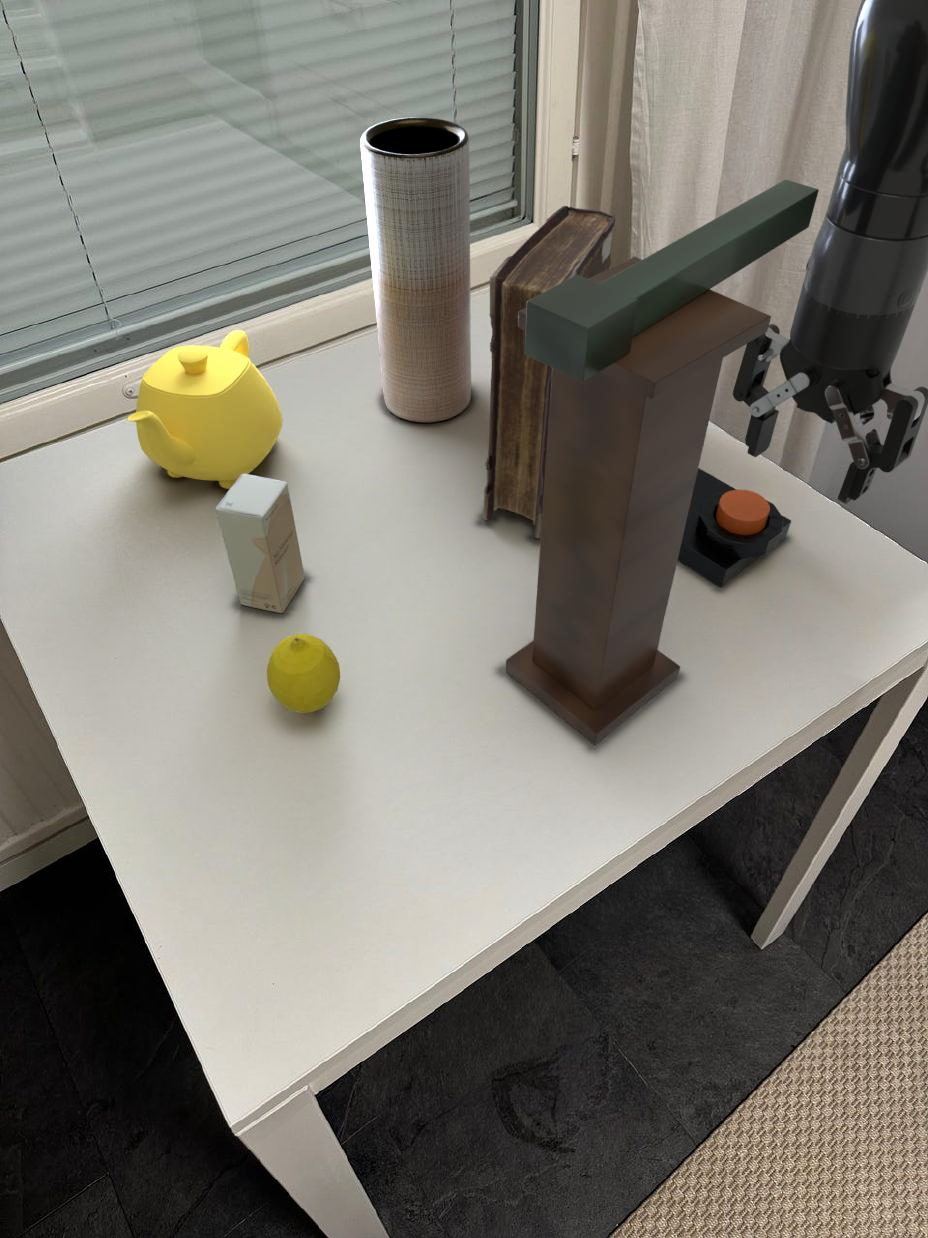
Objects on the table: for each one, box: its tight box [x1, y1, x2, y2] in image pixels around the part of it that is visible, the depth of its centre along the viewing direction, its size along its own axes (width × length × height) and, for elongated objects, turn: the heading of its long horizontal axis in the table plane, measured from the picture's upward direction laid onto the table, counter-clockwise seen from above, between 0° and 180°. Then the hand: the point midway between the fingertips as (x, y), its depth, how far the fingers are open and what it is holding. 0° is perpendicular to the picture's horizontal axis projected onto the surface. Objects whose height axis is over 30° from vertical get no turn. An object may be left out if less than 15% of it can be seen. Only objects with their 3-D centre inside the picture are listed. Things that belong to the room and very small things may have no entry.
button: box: [716, 489, 770, 535], centre depth 80 cm, size 4×4×2 cm
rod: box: [525, 179, 820, 382], centre depth 51 cm, size 4×24×3 cm, turn 136°
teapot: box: [127, 329, 284, 490], centre depth 89 cm, size 13×20×12 cm
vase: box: [360, 116, 472, 424], centre depth 91 cm, size 10×10×28 cm
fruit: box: [266, 633, 341, 714], centre depth 69 cm, size 6×6×8 cm
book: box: [482, 205, 616, 539], centre depth 81 cm, size 17×7×25 cm, turn 150°
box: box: [215, 473, 306, 614], centre depth 77 cm, size 5×4×11 cm
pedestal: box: [505, 256, 772, 746], centre depth 62 cm, size 10×10×32 cm
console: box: [677, 467, 792, 588], centre depth 84 cm, size 13×10×4 cm
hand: (801, 474), depth 73 cm, fingers open, 8 cm apart
